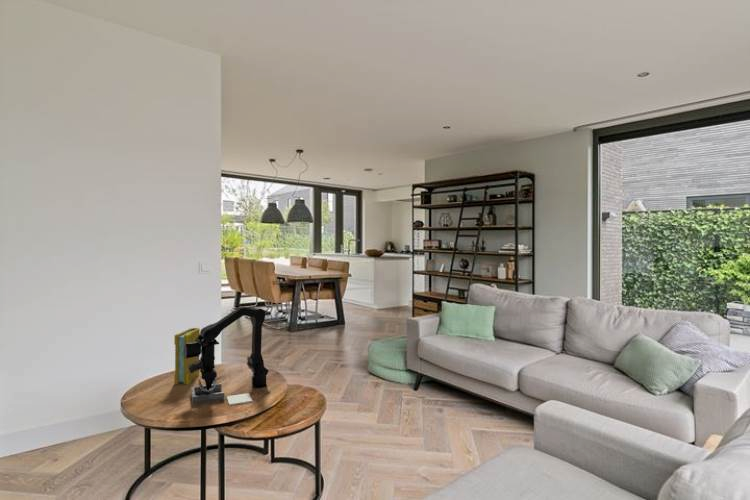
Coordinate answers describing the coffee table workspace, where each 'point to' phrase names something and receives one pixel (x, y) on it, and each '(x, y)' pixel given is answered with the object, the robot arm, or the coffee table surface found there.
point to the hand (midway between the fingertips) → (207, 387)
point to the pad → (239, 399)
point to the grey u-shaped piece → (206, 395)
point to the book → (180, 362)
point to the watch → (206, 389)
